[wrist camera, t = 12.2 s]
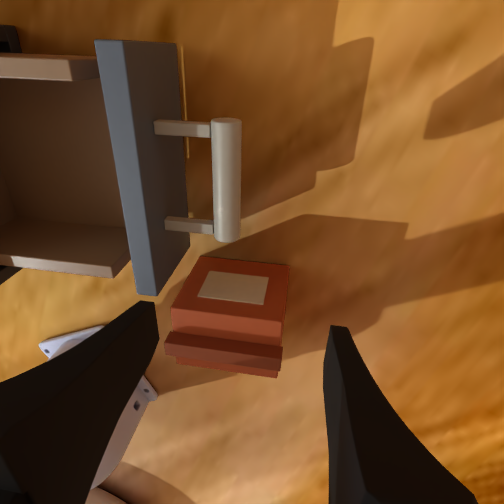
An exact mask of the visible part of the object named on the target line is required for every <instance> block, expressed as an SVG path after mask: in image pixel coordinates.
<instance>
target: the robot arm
mask: <svg viewBox="0 0 504 504" xmlns="http://www.w3.org/2000/svg"><path fill="white" fill-rule="evenodd" d="M158 341H159V332H158V325H157V318H156V311H155V304H154V302H148V301H139V302H138V303H136V304H135V305H133V306H132V307H131V308H129V309H128V310H126V311H125V312H124V313H122V314H121V315H120V316H118V317H117V318H116V319H114V320H113V321H111V322H110V323H109V324H107V325H106V326H103V325H100V326H97V327H93V328H89V329H85V330H82V331H78V332H74V333H70V334H66V335H63V336H59V337H55V338H51V339H48V340H44V341H42V342H41V343H40V344H39V347H40V349H41V350H42V351H43V352H44V353H45V354H46V355H47V357H48V358H49V359H48V361H47V362H45V363H43V364H41V365H39V366H37V367H35V368H32V369H30V370H28V371H26V372H24V373H22V374H20V375H17V376H15V377H13V378H10V379H8V380H5V381H3V382H0V504H85V502H86V500H87V497H88V494H89V491H90V490H91V489H93V488H95V487H96V486H98V485H99V484H101V483H102V482H103V481H104V480H105V479H106V478H107V477H108V476H109V475H110V474H111V473H112V472H113V471H114V469H115V468H116V467H117V465H118V464H119V462H120V461H121V459H122V457H123V455H124V453H125V451H126V449H127V447H128V445H129V443H130V441H131V439H132V436H133V434H134V432H135V430H136V428H137V426H138V424H139V422H140V420H141V418H142V416H143V413H144V411H145V409H146V407H147V405H148V403H149V401H155V400H156V399H157V397H158V394H157V393H156V391H155V390H154V389H153V387H152V386H151V385H150V383H149V382H148V381H147V379H146V378H145V377H144V375H143V374H144V373H145V371H146V369H147V367H148V365H149V363H150V361H151V359H152V357H153V354H154V352H155V349H156V347H157V344H158ZM323 392H324V403H325V414H326V425H327V436H328V449H329V504H478V502H477V500H476V498H475V496H474V494H473V493H472V492H471V491H469V490H468V489H467V488H466V487H465V486H464V485H463V484H462V483H461V482H460V481H459V480H457V479H456V478H455V477H454V476H453V475H452V474H451V473H450V472H449V471H448V470H447V469H446V468H445V467H444V466H443V465H442V464H441V463H440V462H439V461H438V460H437V459H436V458H435V457H434V456H433V455H432V454H431V453H430V452H429V451H428V450H427V449H426V448H425V446H424V445H423V444H422V443H421V442H420V441H419V440H418V439H417V437H416V436H415V435H414V434H413V433H412V432H411V431H410V429H409V428H408V427H407V426H406V424H405V423H404V422H403V421H402V419H401V418H400V417H399V416H398V414H397V413H396V412H395V410H394V409H393V408H392V406H391V405H390V403H389V402H388V401H387V399H386V398H385V396H384V395H383V393H382V392H381V390H380V389H379V387H378V385H377V384H376V382H375V381H374V379H373V377H372V376H371V374H370V372H369V370H368V368H367V367H366V365H365V363H364V361H363V359H362V357H361V356H360V354H359V352H358V349H357V347H356V345H355V343H354V341H353V339H352V336H351V334H350V331H349V329H348V328H347V327H342V326H335V325H330V331H329V336H328V341H327V347H326V352H325V357H324V366H323Z"/></svg>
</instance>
